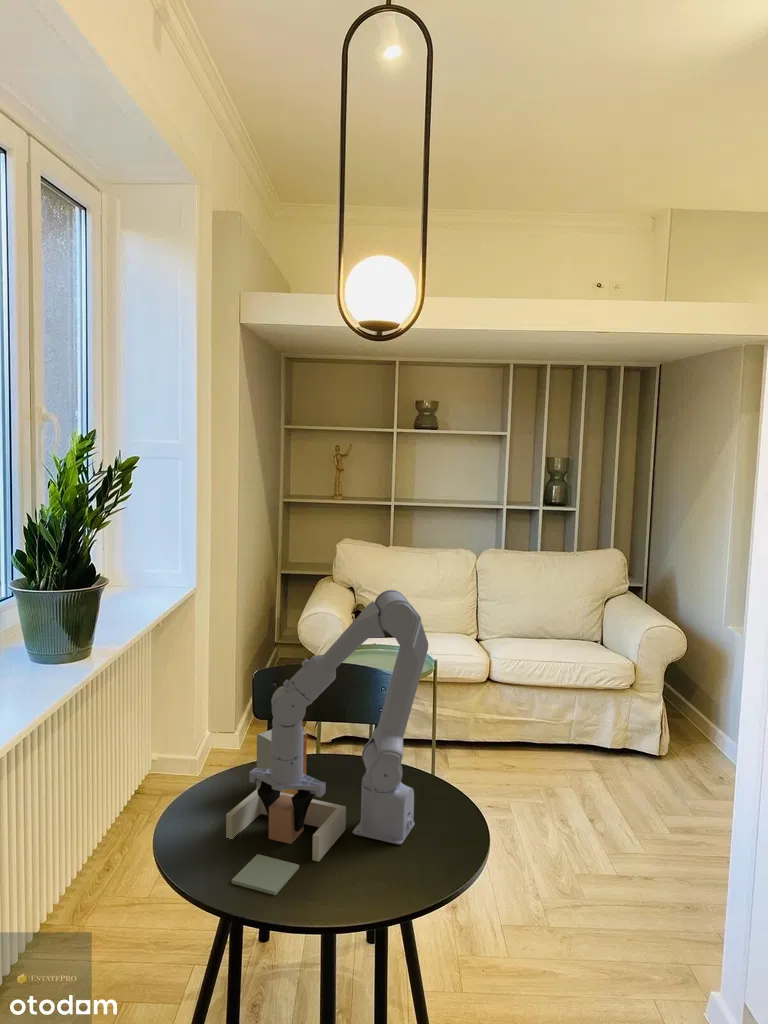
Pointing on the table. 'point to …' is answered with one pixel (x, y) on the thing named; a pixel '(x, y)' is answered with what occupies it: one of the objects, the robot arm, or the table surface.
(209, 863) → the table surface
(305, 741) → the small box
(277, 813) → the block
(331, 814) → the u-shaped wall
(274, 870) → the mat
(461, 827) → the table surface
